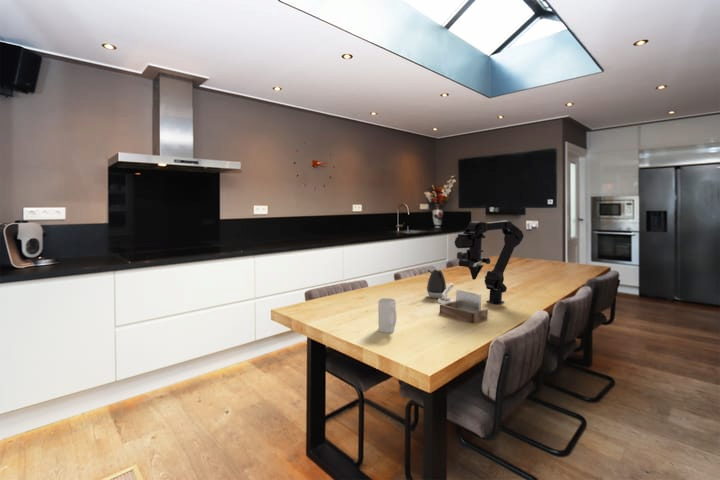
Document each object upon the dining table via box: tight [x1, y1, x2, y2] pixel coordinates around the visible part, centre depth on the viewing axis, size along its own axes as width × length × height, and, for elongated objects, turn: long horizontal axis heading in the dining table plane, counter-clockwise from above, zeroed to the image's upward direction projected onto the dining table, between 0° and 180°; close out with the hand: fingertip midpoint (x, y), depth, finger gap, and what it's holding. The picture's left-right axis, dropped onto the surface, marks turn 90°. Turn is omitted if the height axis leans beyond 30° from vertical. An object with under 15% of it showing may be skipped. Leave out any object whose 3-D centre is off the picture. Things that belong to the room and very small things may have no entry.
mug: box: [377, 297, 398, 334], centre depth 144 cm, size 10×7×12 cm, turn 27°
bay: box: [439, 300, 489, 324], centre depth 165 cm, size 11×17×4 cm, turn 39°
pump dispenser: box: [426, 268, 447, 300], centre depth 196 cm, size 10×10×15 cm
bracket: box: [455, 289, 482, 313], centre depth 165 cm, size 8×12×10 cm
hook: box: [437, 282, 455, 305], centre depth 186 cm, size 8×12×7 cm
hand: (473, 279), depth 180 cm, fingers closed
